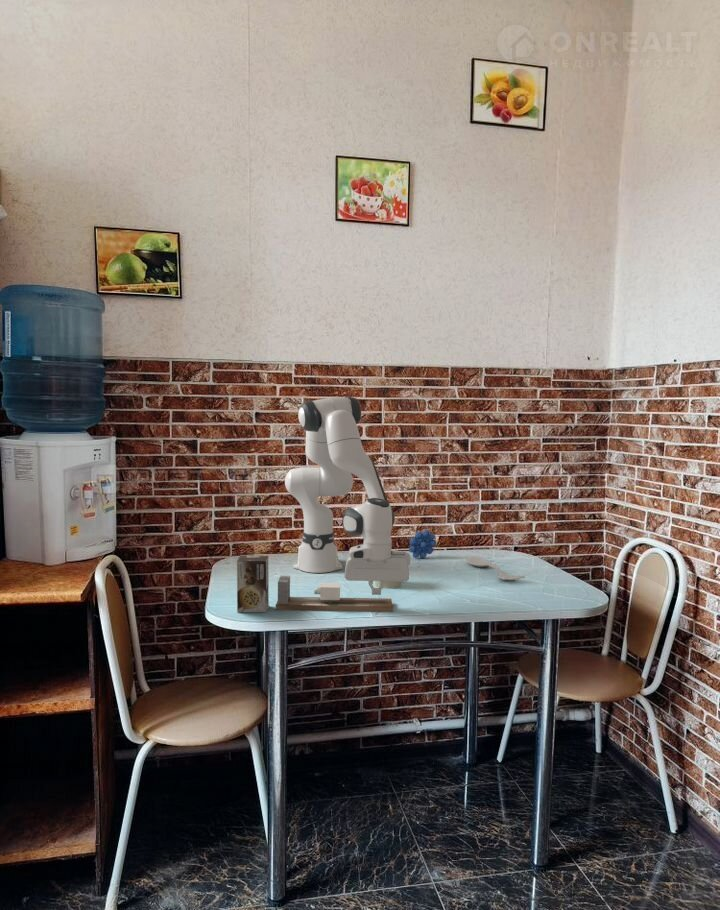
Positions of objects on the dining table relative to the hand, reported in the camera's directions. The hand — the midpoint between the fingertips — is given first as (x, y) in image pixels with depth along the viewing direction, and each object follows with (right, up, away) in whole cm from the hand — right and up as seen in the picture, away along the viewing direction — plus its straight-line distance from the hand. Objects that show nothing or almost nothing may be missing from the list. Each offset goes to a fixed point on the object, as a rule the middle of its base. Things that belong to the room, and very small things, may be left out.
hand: (376, 594), depth 192 cm
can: (+5, -2, +24) cm, 25 cm away
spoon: (+45, -2, +43) cm, 62 cm away
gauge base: (-13, -4, 0) cm, 14 cm away
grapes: (+21, +1, +62) cm, 66 cm away
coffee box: (-38, -4, -4) cm, 38 cm away
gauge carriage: (-15, -2, -1) cm, 16 cm away
